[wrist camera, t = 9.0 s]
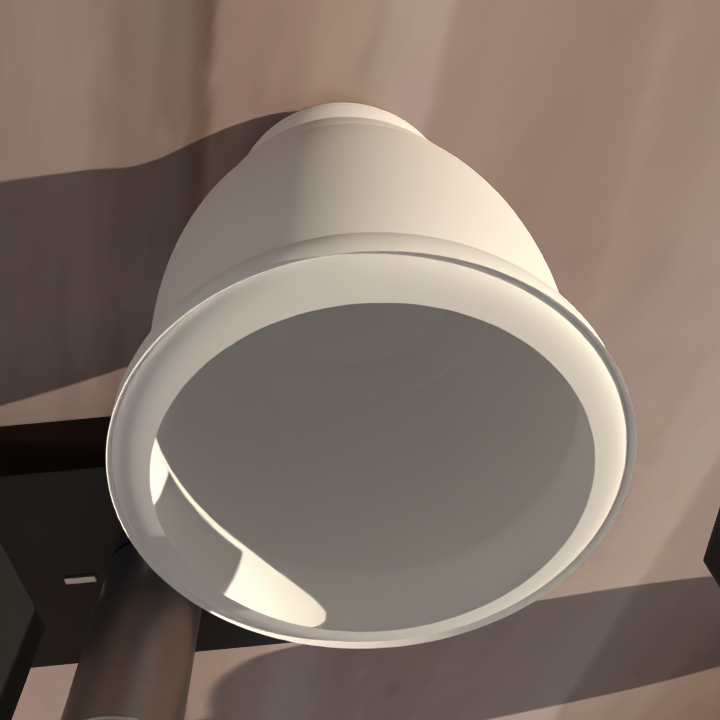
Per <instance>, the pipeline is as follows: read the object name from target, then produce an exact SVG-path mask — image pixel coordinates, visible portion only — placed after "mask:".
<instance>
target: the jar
mask: <svg viewBox="0 0 720 720" xmlns="http://www.w3.org/2000/svg"><path fill="white" fill-rule="evenodd" d="M636 454H637V429H636V420H635V414H634V409H633V405H632V401H631V398H630V395H629V392H628V389H627V386H626V384H625V381H624V379H623V377H622V375H621V373H620V371H619V369H618V367H617V365H616V364H615V362H614V360H613V359H612V357H611V356H610V354H609V353H608V351H607V350H606V348H605V346H604V344H603V343H602V341H601V339H600V338H599V336H598V335H597V333H596V332H595V331H594V329H593V328H592V327H591V326H590V324H589V323H588V322H587V321H586V320H585V318H584V317H583V316H582V315H581V314H580V313H579V312H578V311H577V310H576V309H575V308H574V307H573V306H572V305H571V304H570V303H569V302H568V301H567V300H566V299H565V298H564V297H563V296H562V295H560V294H559V292H558V289H557V287H556V284H555V282H554V279H553V277H552V275H551V273H550V270H549V268H548V266H547V264H546V262H545V260H544V258H543V256H542V254H541V252H540V250H539V249H538V247H537V245H536V243H535V242H534V240H533V238H532V237H531V235H530V234H529V232H528V230H527V229H526V227H525V226H524V225H523V223H522V222H521V220H520V219H519V218H518V216H517V215H516V214H515V212H514V211H513V210H512V208H511V207H510V206H509V205H508V204H507V202H506V201H505V200H504V199H503V198H502V197H501V196H500V195H499V194H498V193H497V191H496V190H495V189H494V188H493V187H492V186H491V185H490V184H488V183H487V182H486V181H485V180H484V179H483V178H482V177H481V176H480V175H479V174H477V173H476V172H475V171H474V170H472V169H471V168H470V167H469V166H467V165H466V164H465V163H463V162H462V161H461V160H459V159H458V158H456V157H455V156H453V155H452V154H450V153H448V152H447V151H445V150H443V149H442V148H440V147H438V146H436V145H435V144H433V143H432V142H430V141H429V140H427V139H426V138H425V137H424V136H423V135H422V134H421V133H420V132H419V131H418V130H416V129H415V128H414V127H413V126H411V125H410V124H409V123H407V122H406V121H404V120H402V119H401V118H399V117H397V116H395V115H393V114H391V113H389V112H387V111H384V110H382V109H379V108H376V107H372V106H368V105H363V104H356V103H328V104H321V105H316V106H313V107H309V108H306V109H303V110H300V111H298V112H296V113H294V114H291V115H290V116H288V117H286V118H284V119H283V120H281V121H279V122H278V123H277V124H275V125H274V126H273V127H271V128H270V129H269V130H268V131H267V132H266V133H265V134H264V135H263V136H262V137H261V138H260V139H259V140H258V141H257V142H256V143H255V145H254V146H253V147H252V149H251V150H250V152H249V153H248V155H247V156H246V157H245V158H244V159H243V160H242V161H241V162H240V163H239V164H238V165H237V166H235V167H234V168H233V169H232V170H231V171H230V172H229V173H228V174H226V175H225V176H224V177H223V178H222V179H221V180H220V181H219V182H218V183H217V184H216V186H215V187H214V188H213V189H212V190H211V191H210V192H209V194H208V195H207V196H206V197H205V198H204V200H203V201H202V202H201V204H200V205H199V206H198V208H197V209H196V211H195V212H194V214H193V215H192V217H191V218H190V220H189V221H188V223H187V225H186V226H185V228H184V230H183V232H182V234H181V236H180V237H179V239H178V241H177V243H176V246H175V248H174V250H173V252H172V255H171V257H170V259H169V262H168V265H167V267H166V270H165V273H164V276H163V279H162V282H161V286H160V289H159V293H158V297H157V301H156V305H155V310H154V315H153V321H152V327H151V332H150V333H149V334H148V336H147V337H146V338H145V340H144V341H143V343H142V344H141V346H140V347H139V349H138V350H137V352H136V354H135V355H134V357H133V359H132V361H131V362H130V364H129V366H128V368H127V370H126V372H125V374H124V376H123V379H122V381H121V384H120V386H119V389H118V392H117V396H116V399H115V403H114V407H113V411H112V416H111V421H110V425H109V430H108V436H107V445H106V472H107V480H108V486H109V491H110V495H111V499H112V502H113V505H114V508H115V511H116V513H117V516H118V518H119V520H120V523H121V525H122V527H123V529H124V531H125V532H126V534H127V536H128V538H129V539H130V541H131V542H132V544H133V545H134V547H135V548H136V550H137V551H138V552H139V554H140V555H141V556H142V558H143V559H144V560H145V561H146V562H147V564H148V565H149V566H150V567H151V568H152V569H153V570H154V571H155V572H156V573H157V574H158V575H159V576H160V577H161V578H162V579H163V580H164V581H165V582H166V583H168V584H169V585H170V586H171V587H172V588H174V589H175V590H176V591H177V592H179V593H180V594H181V595H183V596H184V597H186V598H187V599H188V600H190V601H191V602H193V603H195V604H196V605H198V606H199V607H201V608H203V609H204V610H206V611H208V612H210V613H212V614H214V615H216V616H218V617H220V618H222V619H224V620H226V621H228V622H230V623H233V624H235V625H237V626H240V627H242V628H245V629H248V630H251V631H254V632H257V633H260V634H263V635H266V636H270V637H273V638H277V639H281V640H286V641H290V642H295V643H301V644H307V645H314V646H322V647H333V648H352V649H368V648H388V647H399V646H407V645H414V644H420V643H426V642H431V641H436V640H440V639H444V638H448V637H452V636H456V635H459V634H462V633H466V632H469V631H472V630H475V629H478V628H480V627H483V626H486V625H488V624H491V623H493V622H495V621H498V620H500V619H502V618H504V617H507V616H509V615H511V614H513V613H515V612H517V611H519V610H520V609H522V608H524V607H526V606H528V605H529V604H531V603H533V602H534V601H536V600H538V599H539V598H541V597H542V596H544V595H545V594H547V593H548V592H550V591H551V590H552V589H554V588H555V587H556V586H558V585H559V584H560V583H561V582H563V581H564V580H565V579H566V578H568V577H569V576H570V575H571V574H572V573H573V572H574V571H575V570H576V569H578V568H579V567H580V566H581V565H582V564H583V563H584V562H585V561H586V559H587V558H588V557H589V556H590V555H591V554H592V553H593V552H594V550H595V549H596V548H597V547H598V546H599V544H600V543H601V542H602V540H603V539H604V538H605V536H606V535H607V533H608V532H609V530H610V529H611V527H612V525H613V524H614V522H615V520H616V519H617V517H618V515H619V513H620V511H621V509H622V507H623V504H624V502H625V500H626V497H627V494H628V492H629V489H630V485H631V482H632V478H633V474H634V469H635V463H636Z"/></svg>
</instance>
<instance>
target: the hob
mask: <svg viewBox="0 0 720 720" xmlns="http://www.w3.org/2000/svg"><path fill="white" fill-rule="evenodd" d="M110 421H111V417H101V418H90V419H79V420H69V421H58V422H47V423H36V424H25V425H14V426H4V427H0V543H1V545H2V547H3V549H4V550H5V552H6V554H7V556H8V558H9V560H10V562H11V564H12V565H13V567H14V569H15V571H16V573H17V575H18V577H19V579H20V580H21V582H22V584H23V586H24V588H25V590H26V592H27V594H28V595H29V597H30V599H31V601H32V603H33V605H34V607H35V609H36V610H37V612H38V614H39V616H40V618H41V620H42V622H43V624H44V625H45V627H46V628H45V631H44V633H43V636H42V639H41V642H40V644H39V647H38V650H37V652H36V655H35V658H34V660H33V663H32V666H31V668H33V667H43V666H53V665H64V664H74V663H79V660H80V657H81V654H82V650H83V647H84V644H85V641H86V638H87V634H88V631H89V628H90V625H91V622H92V619H93V615H94V612H95V609H96V606H97V603H98V599H99V596H100V593H101V590H102V587H103V583H104V580H105V577H106V574H107V571H108V568H109V564H110V561H111V559H112V557H113V556H114V555H115V553H116V552H117V551H118V550H120V549H121V548H122V547H124V546H126V545H128V544H130V543H132V542H131V541H130V539H129V538H128V536H127V534H126V532H125V531H124V529H123V527H122V525H121V523H120V520H119V518H118V516H117V513H116V511H115V508H114V505H113V502H112V499H111V495H110V491H109V486H108V480H107V472H106V445H107V436H108V430H109V425H110ZM280 643H291V642H290V641H286V640H281V639H277V638H273V637H270V636H266V635H263V634H260V633H257V632H254V631H251V630H248V629H245V628H242V627H240V626H237V625H235V624H233V623H230V622H228V621H226V620H224V619H222V618H220V617H218V616H216V615H214V614H212V613H210V612H208V611H206V610H204V609H203V608H202V611H201V617H200V624H199V630H198V636H197V642H196V649H195V652H198V651H208V650H218V649H229V648H239V647H249V646H260V645H270V644H280Z"/></svg>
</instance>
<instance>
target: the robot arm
mask: <svg viewBox="0 0 720 720" xmlns="http://www.w3.org/2000/svg"><path fill="white" fill-rule="evenodd" d="M703 561H704V563H705V564H706V566H707V568H708V569H709V571H710V572H711V574H712V576H713V577H714V579H715V580H716V582H717V583H718V585H719V587H720V509H719V512H718V515H717V518H716V521H715V524H714V527H713V531H712V534H711V537H710V540H709V543H708V546H707V550H706V553H705V556H704V559H703ZM45 628H46V627H45V625H44V624H43V622H42V620H41V618H40V616H39V614H38V612H37V610H36V609H35V607H34V605H33V603H32V601H31V599H30V597H29V595H28V594H27V592H26V590H25V588H24V586H23V584H22V582H21V580H20V579H19V577H18V575H17V573H16V571H15V569H14V567H13V565H12V564H11V562H10V560H9V558H8V556H7V554H6V552H5V550H4V549H3V547H2V545H1V543H0V720H12V717H13V714H14V711H15V709H16V706H17V703H18V701H19V698H20V695H21V693H22V690H23V687H24V685H25V682H26V679H27V676H28V674H29V671H30V668H31V666H32V663H33V660H34V658H35V655H36V652H37V650H38V647H39V644H40V642H41V639H42V636H43V633H44V631H45Z"/></svg>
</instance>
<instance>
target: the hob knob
mask: <svg viewBox="0 0 720 720" xmlns="http://www.w3.org/2000/svg"><path fill="white" fill-rule="evenodd" d="M201 611H202V608H201V607H199V606H198V605H196V604H195V603H193V602H191V601H190V600H188V599H187V598H186V597H184V596H183V595H181V594H180V593H179V592H177V591H176V590H175V589H174V588H172V587H171V586H170V585H169V584H168V583H166V582H165V581H164V580H163V579H162V578H161V577H160V576H159V575H158V574H157V573H156V572H155V571H154V570H153V569H152V568H151V567H150V566H149V565H148V564H147V562H146V561H145V560H144V559H143V558H142V556H141V555H140V554H139V552H138V551H137V550H136V548H135V547H134V545H133V544H132V543H130V544H128V545H126V546H124V547H122V548H121V549H120V550H118V551H117V552H116V553H115V555H114V556H113V557H112V559H111V561H110V564H109V568H108V571H107V574H106V577H105V580H104V583H103V587H102V590H101V593H100V596H99V599H98V603H97V606H96V609H95V612H94V615H93V619H92V622H91V625H90V628H89V631H88V634H87V638H86V641H85V644H84V647H83V650H82V654H81V657H80V660H79V663H78V666H77V670H76V673H75V676H74V679H73V682H72V686H71V689H70V692H69V695H68V698H67V701H66V705H65V708H64V711H63V714H62V717H61V720H184V718H185V712H186V705H187V699H188V693H189V687H190V680H191V674H192V668H193V661H194V655H195V649H196V642H197V636H198V630H199V624H200V617H201Z"/></svg>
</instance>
